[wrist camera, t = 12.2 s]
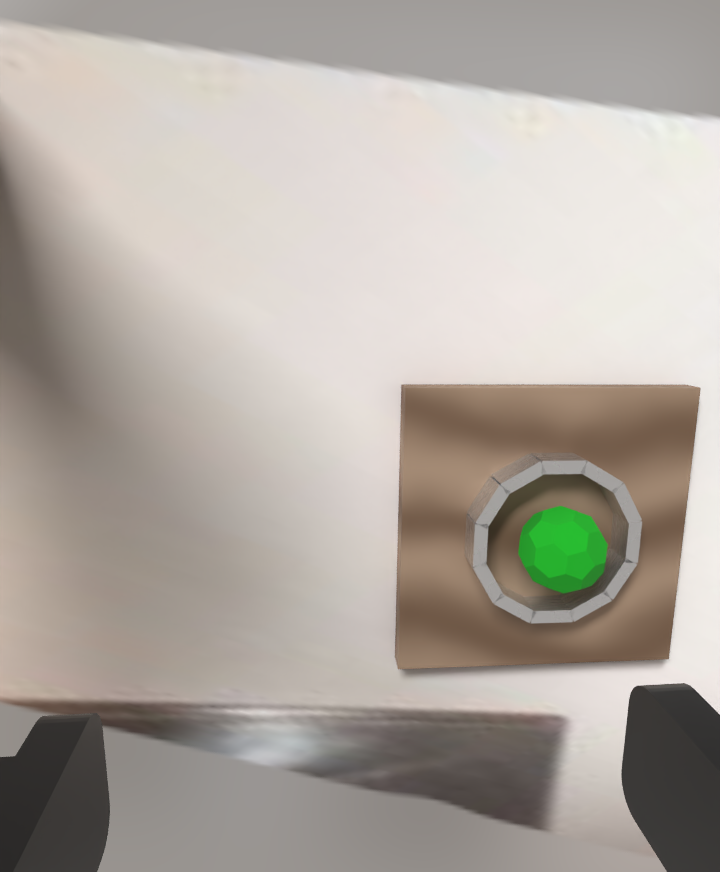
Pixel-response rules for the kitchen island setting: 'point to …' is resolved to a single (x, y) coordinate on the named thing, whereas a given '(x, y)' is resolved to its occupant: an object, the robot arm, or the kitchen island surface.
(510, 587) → the walnut board
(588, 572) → the polyhedron
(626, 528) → the steel ring
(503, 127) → the kitchen island surface
